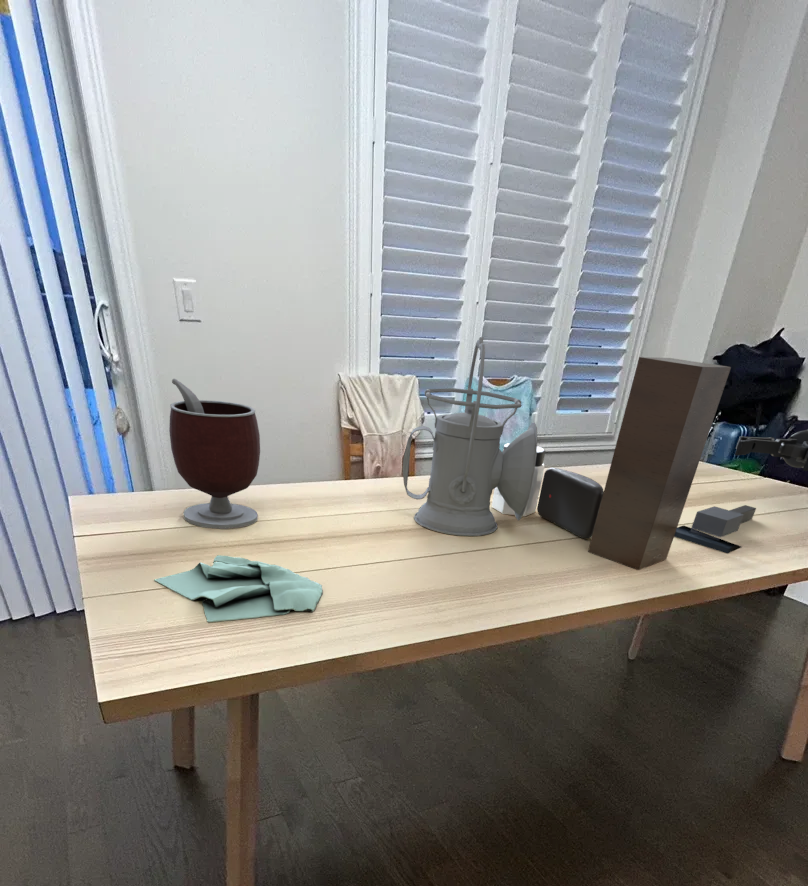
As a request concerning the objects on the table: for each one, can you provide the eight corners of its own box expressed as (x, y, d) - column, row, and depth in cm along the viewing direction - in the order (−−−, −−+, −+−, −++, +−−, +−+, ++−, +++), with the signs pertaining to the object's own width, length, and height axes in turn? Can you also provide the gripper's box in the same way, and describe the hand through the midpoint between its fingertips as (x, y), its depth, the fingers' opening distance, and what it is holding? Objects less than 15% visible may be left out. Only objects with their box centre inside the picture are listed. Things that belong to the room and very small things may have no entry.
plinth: (616, 542, 117) (669, 357, 101) (666, 559, 112) (731, 367, 95) (587, 551, 111) (638, 356, 95) (638, 570, 106) (702, 366, 89)
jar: (485, 504, 131) (494, 442, 124) (518, 503, 134) (530, 442, 127) (506, 517, 124) (518, 453, 117) (541, 516, 127) (555, 453, 120)
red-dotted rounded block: (604, 540, 118) (618, 488, 112) (585, 542, 116) (598, 489, 111) (551, 513, 129) (562, 465, 124) (533, 514, 128) (543, 465, 122)
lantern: (522, 547, 110) (562, 349, 93) (396, 534, 109) (414, 332, 93) (508, 511, 128) (539, 339, 111) (399, 500, 127) (415, 326, 110)
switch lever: (731, 517, 136) (738, 498, 134) (758, 525, 133) (766, 506, 131) (689, 532, 124) (696, 511, 122) (719, 541, 121) (727, 520, 119)
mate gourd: (279, 518, 111) (276, 391, 100) (220, 536, 101) (210, 396, 90) (215, 498, 117) (206, 376, 106) (154, 513, 107) (136, 380, 96)
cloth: (335, 617, 80) (335, 599, 79) (151, 625, 74) (148, 606, 73) (308, 558, 96) (308, 543, 95) (155, 561, 90) (153, 544, 89)
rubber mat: (702, 522, 134) (704, 518, 134) (759, 539, 128) (761, 534, 127) (668, 534, 125) (669, 529, 124) (727, 553, 118) (729, 548, 117)
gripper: (859, 479, 136) (829, 490, 123) (744, 453, 150) (706, 461, 137) (877, 442, 131) (848, 449, 118) (757, 419, 145) (719, 423, 132)
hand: (771, 455), depth 127 cm, fingers open, 13 cm apart
